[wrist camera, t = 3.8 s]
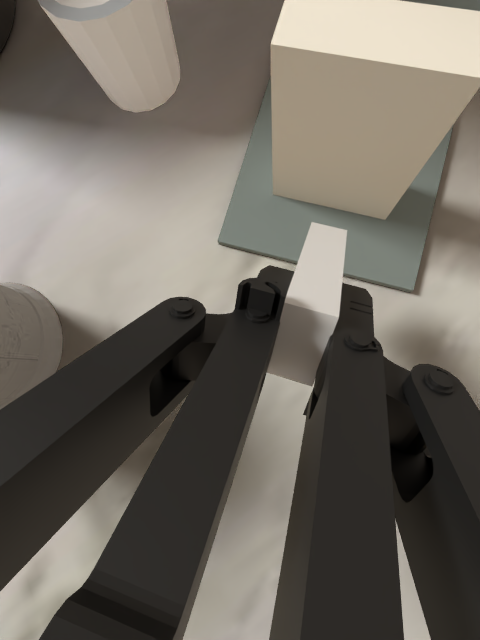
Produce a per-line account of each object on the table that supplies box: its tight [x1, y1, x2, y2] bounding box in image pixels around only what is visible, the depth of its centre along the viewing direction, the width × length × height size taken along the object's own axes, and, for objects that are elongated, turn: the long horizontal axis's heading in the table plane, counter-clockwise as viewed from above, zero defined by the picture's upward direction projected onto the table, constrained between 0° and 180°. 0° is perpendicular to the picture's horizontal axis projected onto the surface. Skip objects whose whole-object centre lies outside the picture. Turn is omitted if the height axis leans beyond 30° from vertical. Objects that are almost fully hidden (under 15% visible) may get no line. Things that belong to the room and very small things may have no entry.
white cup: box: [38, 0, 180, 113], centre depth 21 cm, size 7×7×7 cm
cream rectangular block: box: [270, 0, 480, 220], centre depth 16 cm, size 3×7×10 cm, turn 73°
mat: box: [218, 0, 480, 292], centre depth 22 cm, size 20×12×1 cm, turn 163°
